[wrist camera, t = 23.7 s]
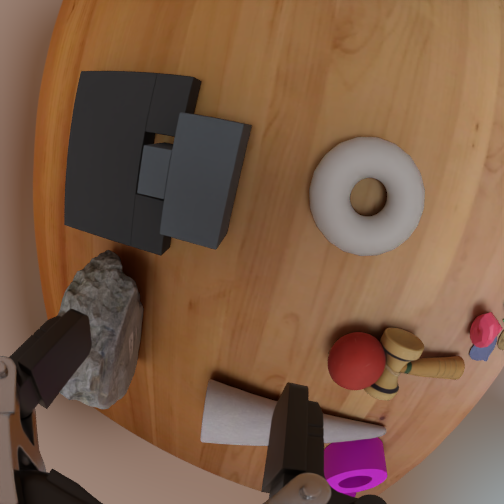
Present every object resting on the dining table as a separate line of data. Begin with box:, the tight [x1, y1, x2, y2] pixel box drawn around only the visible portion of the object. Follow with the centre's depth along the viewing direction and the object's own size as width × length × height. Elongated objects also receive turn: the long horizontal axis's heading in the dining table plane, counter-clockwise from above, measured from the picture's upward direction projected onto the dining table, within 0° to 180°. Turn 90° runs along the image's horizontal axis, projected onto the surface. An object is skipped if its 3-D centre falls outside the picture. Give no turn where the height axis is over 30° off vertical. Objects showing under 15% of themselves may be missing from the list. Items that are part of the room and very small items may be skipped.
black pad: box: [65, 71, 201, 255], centre depth 25 cm, size 16×12×2 cm
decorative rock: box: [57, 250, 143, 409], centre depth 26 cm, size 16×7×15 cm, turn 162°
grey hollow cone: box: [201, 379, 386, 446], centre depth 33 cm, size 8×9×26 cm
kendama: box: [328, 328, 465, 400], centre depth 28 cm, size 8×6×18 cm
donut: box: [309, 137, 425, 256], centre depth 23 cm, size 10×4×10 cm
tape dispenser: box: [324, 437, 387, 497], centre depth 37 cm, size 16×10×6 cm, turn 172°
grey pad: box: [137, 112, 252, 249], centre depth 24 cm, size 10×8×4 cm
